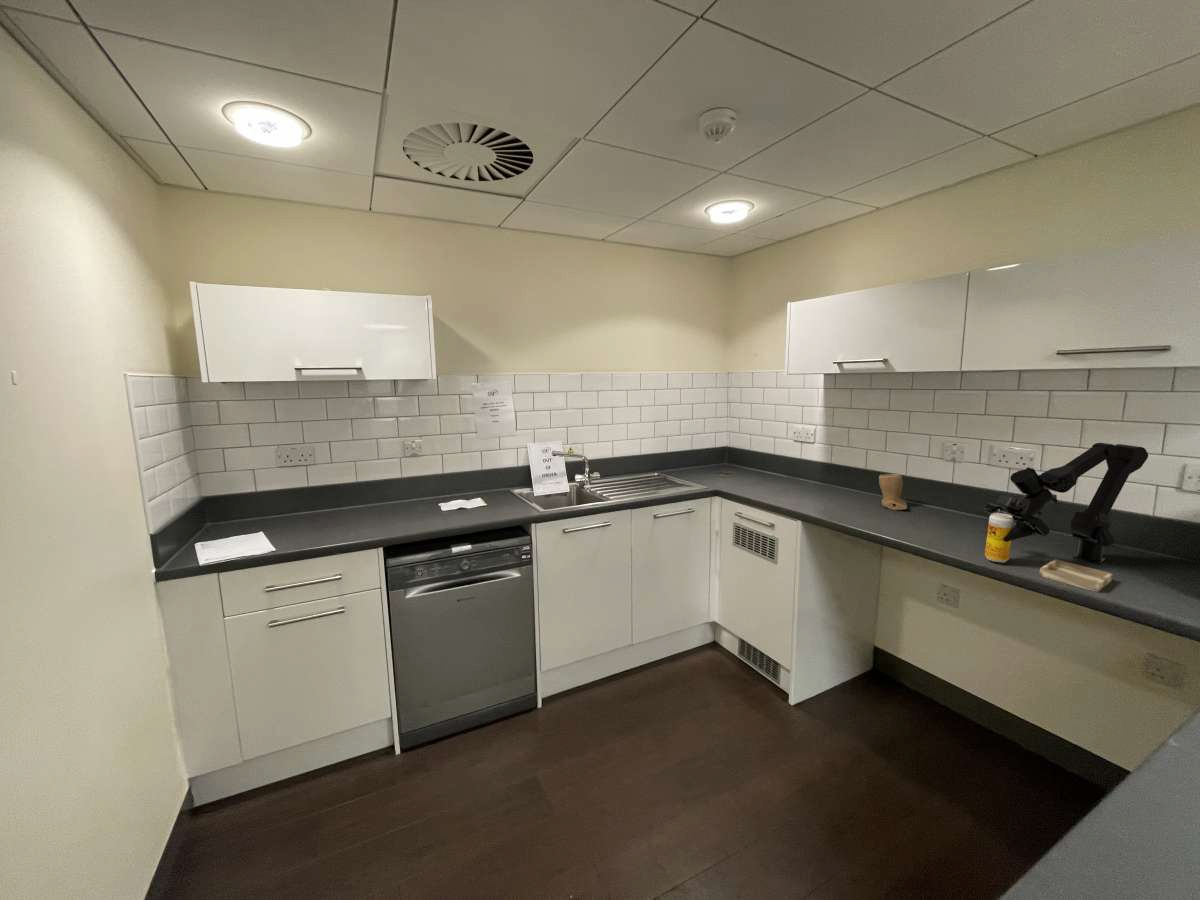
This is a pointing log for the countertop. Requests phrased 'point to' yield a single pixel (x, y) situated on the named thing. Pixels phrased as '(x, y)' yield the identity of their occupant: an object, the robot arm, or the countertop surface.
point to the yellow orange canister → (998, 537)
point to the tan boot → (892, 491)
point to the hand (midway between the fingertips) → (995, 537)
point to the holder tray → (1076, 575)
